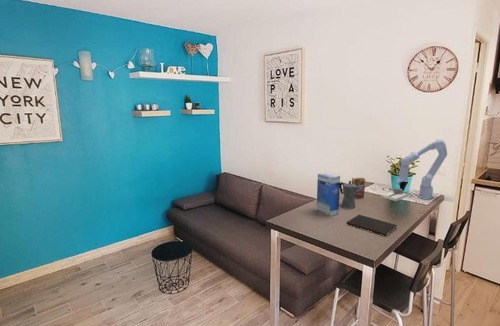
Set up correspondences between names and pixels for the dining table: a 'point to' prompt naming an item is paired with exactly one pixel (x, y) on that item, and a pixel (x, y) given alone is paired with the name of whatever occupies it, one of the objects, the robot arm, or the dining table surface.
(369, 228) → the black spiral notebook
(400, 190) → the fader cap
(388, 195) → the console
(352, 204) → the coffeepot
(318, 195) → the string lights box
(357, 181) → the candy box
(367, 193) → the dining table surface
